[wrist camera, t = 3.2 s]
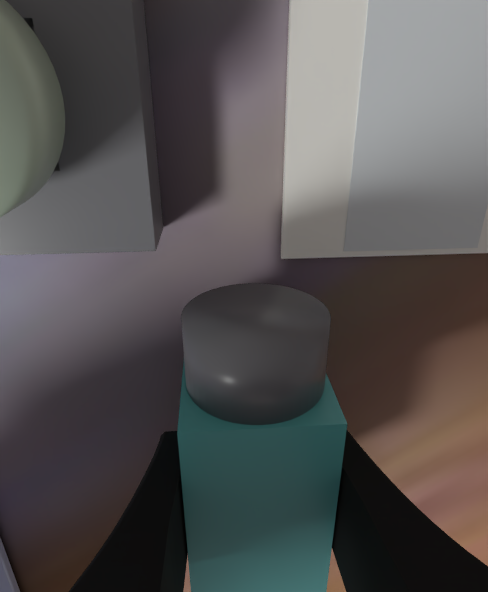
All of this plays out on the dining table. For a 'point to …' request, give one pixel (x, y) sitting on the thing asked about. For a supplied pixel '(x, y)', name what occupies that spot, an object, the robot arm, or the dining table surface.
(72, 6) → the button base
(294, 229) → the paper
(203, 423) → the teal capped block
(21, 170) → the button
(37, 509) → the dining table surface
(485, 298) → the dining table surface
